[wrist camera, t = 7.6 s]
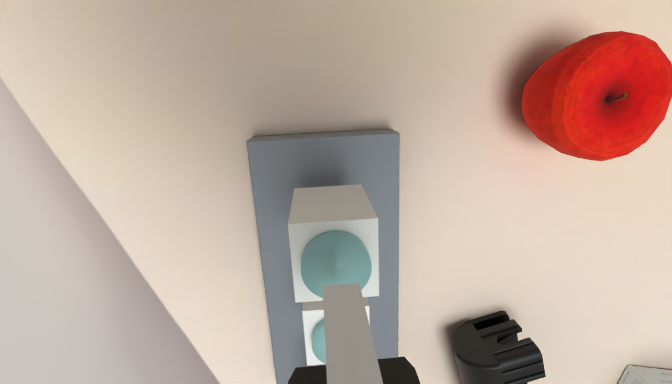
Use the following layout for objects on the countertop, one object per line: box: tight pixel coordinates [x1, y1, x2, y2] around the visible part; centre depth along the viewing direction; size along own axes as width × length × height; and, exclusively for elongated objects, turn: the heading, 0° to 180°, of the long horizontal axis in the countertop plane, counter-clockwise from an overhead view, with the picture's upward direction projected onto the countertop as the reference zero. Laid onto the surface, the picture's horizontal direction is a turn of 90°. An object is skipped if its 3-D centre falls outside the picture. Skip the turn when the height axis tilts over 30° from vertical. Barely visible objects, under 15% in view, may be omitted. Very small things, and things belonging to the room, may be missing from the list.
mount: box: [247, 129, 399, 384], centre depth 30 cm, size 26×12×8 cm, turn 3°
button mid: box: [302, 297, 370, 366], centre depth 27 cm, size 5×5×7 cm
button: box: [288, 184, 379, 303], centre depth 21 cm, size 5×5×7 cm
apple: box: [521, 31, 672, 161], centre depth 27 cm, size 9×9×8 cm
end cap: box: [452, 311, 546, 384], centre depth 35 cm, size 10×7×7 cm
